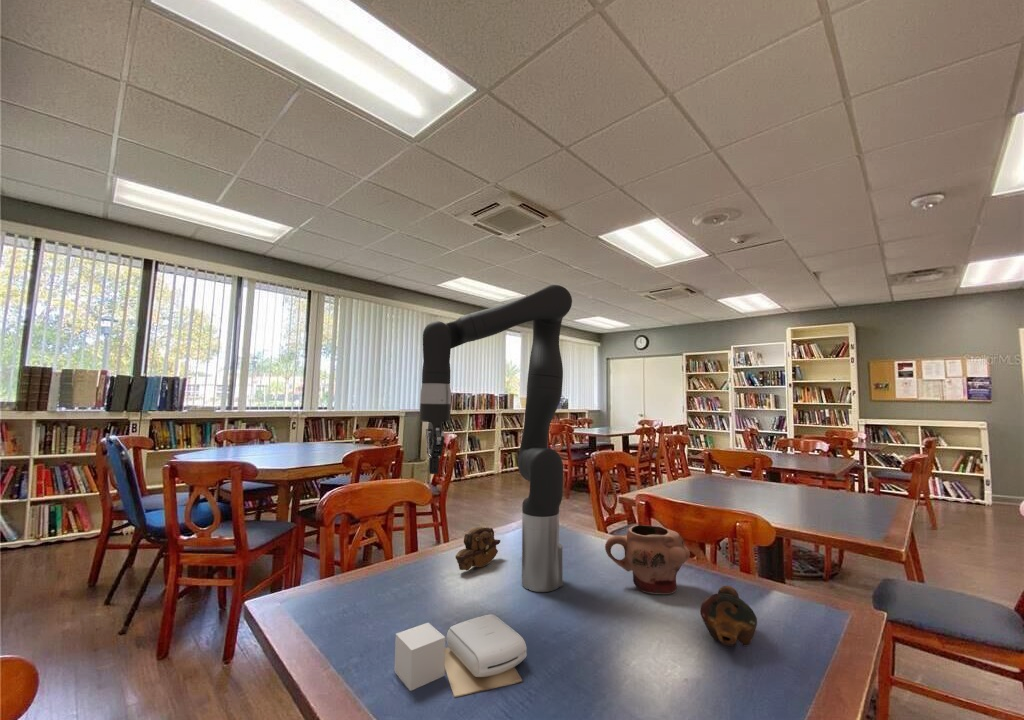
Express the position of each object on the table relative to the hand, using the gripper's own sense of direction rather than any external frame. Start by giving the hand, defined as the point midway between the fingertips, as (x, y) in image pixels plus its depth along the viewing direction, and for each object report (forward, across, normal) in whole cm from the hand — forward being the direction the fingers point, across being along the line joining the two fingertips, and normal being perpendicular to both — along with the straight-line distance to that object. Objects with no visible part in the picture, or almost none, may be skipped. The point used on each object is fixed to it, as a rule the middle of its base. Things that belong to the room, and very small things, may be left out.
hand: (433, 473), depth 103 cm
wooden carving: (+27, +10, -15) cm, 33 cm away
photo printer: (+25, -25, -3) cm, 35 cm away
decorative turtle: (+27, -40, -50) cm, 70 cm away
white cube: (+27, -31, +7) cm, 42 cm away
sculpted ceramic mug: (+27, -16, -50) cm, 59 cm away
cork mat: (+27, -32, -3) cm, 42 cm away
